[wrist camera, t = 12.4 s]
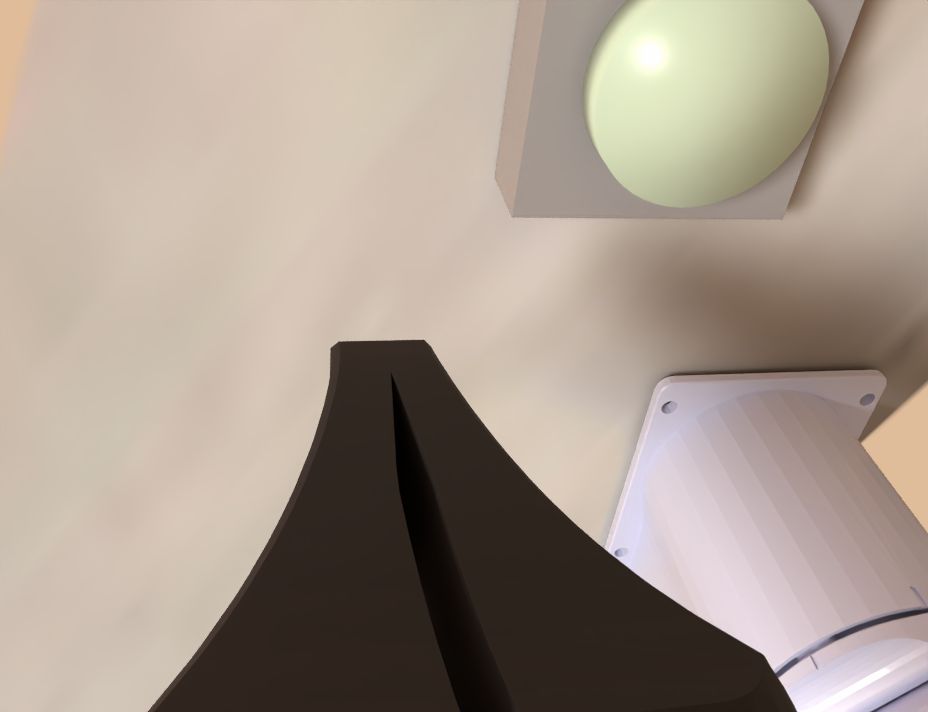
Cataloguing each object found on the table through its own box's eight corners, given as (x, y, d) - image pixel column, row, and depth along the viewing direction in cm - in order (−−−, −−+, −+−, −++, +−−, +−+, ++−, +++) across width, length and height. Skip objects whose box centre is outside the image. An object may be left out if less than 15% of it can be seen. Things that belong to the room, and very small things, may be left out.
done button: (732, 154, 22) (782, 209, 20) (544, 150, 21) (575, 206, 19) (799, -56, 19) (866, -19, 17) (583, -73, 18) (625, -36, 16)
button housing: (748, 182, 24) (782, 219, 22) (494, 177, 22) (512, 217, 21) (845, -107, 19) (895, -86, 18) (539, -136, 18) (564, -115, 16)
